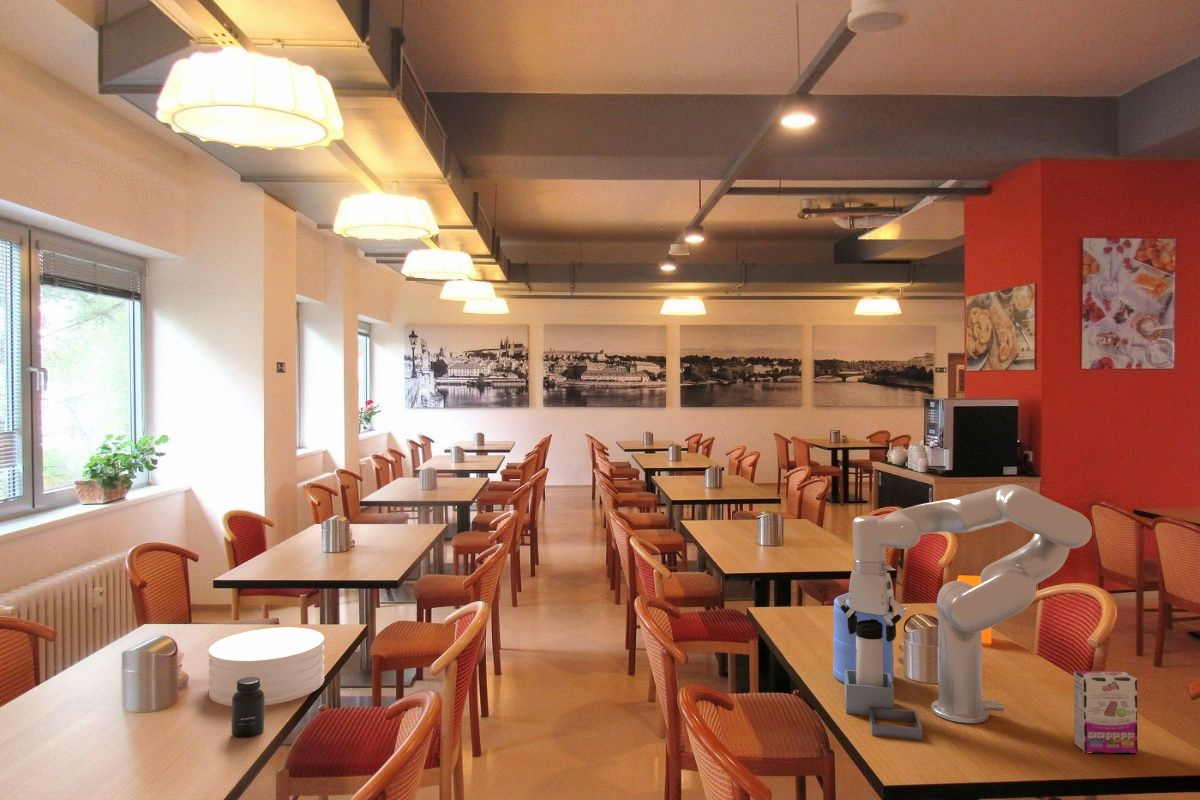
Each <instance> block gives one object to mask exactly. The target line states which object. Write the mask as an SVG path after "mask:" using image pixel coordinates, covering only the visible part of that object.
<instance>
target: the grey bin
mask: <svg viewBox="0 0 1200 800" xmlns="http://www.w3.org/2000/svg"><path fill="white" fill-rule="evenodd" d="M844 703H845V706H844V707H845V714H848V715H856V714H860V715H859V716H866V715H868V717H869V707H879V708H889V709H895V688H894V683H893V682H892V680H891V676H890V673H883V687H878V686H867V685H856V670H845V683H844Z"/></svg>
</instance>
